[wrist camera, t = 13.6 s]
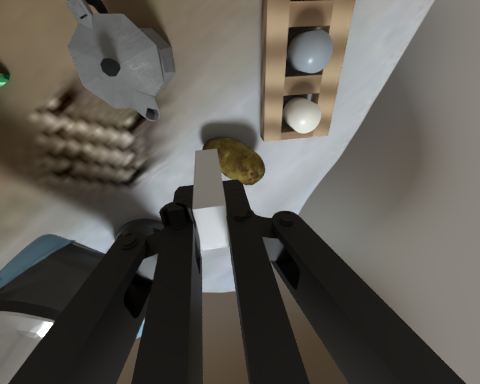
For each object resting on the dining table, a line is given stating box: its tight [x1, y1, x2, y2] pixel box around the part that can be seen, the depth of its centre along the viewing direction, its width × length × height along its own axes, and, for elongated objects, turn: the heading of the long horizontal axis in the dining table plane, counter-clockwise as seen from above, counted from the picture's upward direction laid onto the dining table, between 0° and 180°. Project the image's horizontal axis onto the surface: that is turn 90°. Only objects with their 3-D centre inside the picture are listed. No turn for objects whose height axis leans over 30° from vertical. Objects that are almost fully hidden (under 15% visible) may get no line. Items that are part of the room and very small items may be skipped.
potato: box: [203, 137, 265, 185], centre depth 43 cm, size 8×13×8 cm, turn 44°
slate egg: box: [287, 30, 333, 73], centre depth 35 cm, size 6×6×5 cm
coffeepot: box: [67, 0, 176, 121], centre depth 27 cm, size 15×9×18 cm, turn 23°
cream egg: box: [283, 97, 321, 133], centre depth 40 cm, size 6×6×5 cm
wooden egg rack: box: [261, 0, 355, 142], centre depth 37 cm, size 30×14×3 cm, turn 2°
